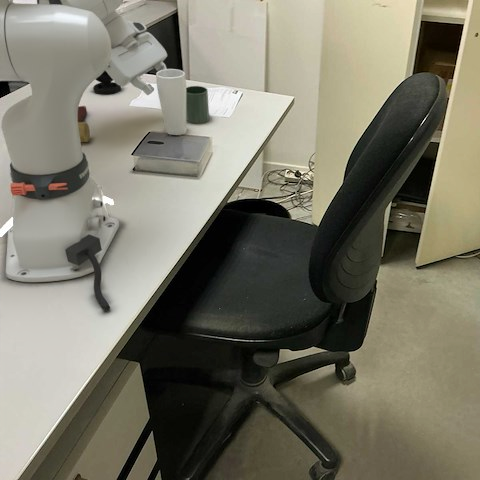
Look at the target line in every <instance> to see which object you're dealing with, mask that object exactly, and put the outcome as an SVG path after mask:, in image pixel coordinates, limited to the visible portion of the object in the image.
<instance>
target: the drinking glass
mask: <svg viewBox="0 0 480 480" xmlns="http://www.w3.org/2000/svg"><path fill="white" fill-rule="evenodd" d="M155 79H156V90H157V96H158V101H159V105H160V110H161V115H162V119H163V125H164V132H165V134H167V133H169V134H178V135H179V136H183V135H185V134H186V133H187V131H188V127H187V121H186V88H187V81H186V73H185V71H183V70H181V69H178V68H177V69H176V68H167V69H165V70H160V71H159V70H158V71H157V72H156V73H155Z"/></svg>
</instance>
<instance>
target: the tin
mask: <svg viewBox="0 0 480 480" xmlns="http://www.w3.org/2000/svg"><path fill="white" fill-rule="evenodd" d="M209 107H210V106H209V91H208V88H207V87H205V86H200V85H192V86H186V123H189V124H195V125H200V124H201V125H202V124H205V123H207V122H209V121H210V110H209Z"/></svg>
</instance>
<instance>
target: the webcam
mask: <svg viewBox="0 0 480 480" xmlns="http://www.w3.org/2000/svg"><path fill="white" fill-rule="evenodd" d="M94 81H97V82H99V83H96V84H94V85H93V87H92V89H93V91H94V92H95V94H100V95H114V94H116V93H118V92H120V91H121V90H122V86H119V85H118V84H116V83H115V81H114V80H113V79H112V78H111V77H110V76H109V74H108V73H107V72H106V70H105V71H104V72H103V73H102V74H101V75H100V76H99V77H98V78H96V79H95V80H94Z"/></svg>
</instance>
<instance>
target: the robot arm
mask: <svg viewBox="0 0 480 480" xmlns="http://www.w3.org/2000/svg"><path fill="white" fill-rule="evenodd" d="M123 2H124V0H36V3H18V2H17V3H15V2H14V0H0V82H25V83H28V84H29V85H30V88H31V95H29V96H28V97H25V98H23V99H20V100H19V101H17V102H16V103H14V104H13V105H11V106H10V107H8V109H7V110H6V111H5V112H4V114H3V116H2V118H1V124H0V126H1V132H2V135H3V139H4V142H5V145H6V149H7V153H8V157H9V159H10V163H9V169H10V173H9V175H10V180H11V183H10V193H11V196H12V203H11V204H12V209H11V210H12V215H11V216H12V217H11V218H10V219H9V220H8V221H6V223H5V224H4V225H3V226H2V227H1V228H0V237H3V236H4V235H5V234H6V233H7V242H6V259H5V276H6V278H7V279H10V280H12V281H17V282H22V283H46V282H47V283H48V282H49V283H50V282H58V281H65V280H67V281H68V280H72V279H76V278H81V277H84V276H87V275H89V274H92V273H94V280H93V291H94V294H95V295H94V296H95V298H96V300H97V302H98V303H99V304H100V306H101V307H102V309H103V310H104V311H109V310H110V309H111V306H110V304H109V302H108V301H107V299H106V298H105V297H104V296H103V292H102V289H101V284H102V283H101V282H102V269H101V265H100V264H101V262H102V260H103V258H104V256H105V254H106V252H107V250H108V249H109V246H110V245H111V243H112V241H113V239H114V238H115V235H116V233H117V231H118V230H119V228H120V222H119V219H117V218H115V217H112V216H109V213H108V209H107V205H106V204H109V205H110V206H113V205H114V200H113V199H111V198H109V197H107V196H105V195H104V193H103V192H104V191H103V189H102V186H101V185H100V184H99V183H98V182H96V181H95V180H93V179H92V178H91V176H90V175H91V173H90V167H89V166H90V164H89V161H88V160H87V159H88V158H87V156H86V154H85V153H84V151H83V148H82V142H80V136H79V128H78V107H79V106H80V103H81V100H82V97H83V95H84V93H85V92H86V90H87V88H88V87H89V86H90V85H91V84H92V83H93V82H94V81H96V80H95V79H96V78H98V77H99V76H100V75H101V74H102V73H103V72H104V71H105V70H106V72H107V73H108V74H109V76H110V77H111V78H112V79H113V82H115V83H116V84H118V85H119V86H121V88H123V87H126V86H127V85H129V84H131V85H132V86H133V87H135V88H137V89H138V90H141V91H143V93H144V94H145V95H147V96H149V95H151V94H152V93H153V92H154V91H155V87H153V86H152V85H151V84H150V83H146V82H145V81H143V79H142V76H143V75H145V74H147V73H148V72H150V71H151V70H153V69H155V70H156V71H157V72H158V71H160V70H165V69H168V68H167V65H166V64H165V62H164V61H165V60H166V59H167V57H168V53H167V51H166V49H165V47H164V46H163V45H162V44H161V42H159V41H158V39H157V38H155V36H154V35H153V34H152V33H150V32H148V31H147V30H148V28H147V26H146V25H145V24H144V23H143V22H140V21H132V20H128V19H127V20H126V19H125V18H124V17H123V16H122V15H121V14H119V13H118V12H117V9H118V8H119V7H120V6H121V5H122V3H123Z"/></svg>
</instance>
